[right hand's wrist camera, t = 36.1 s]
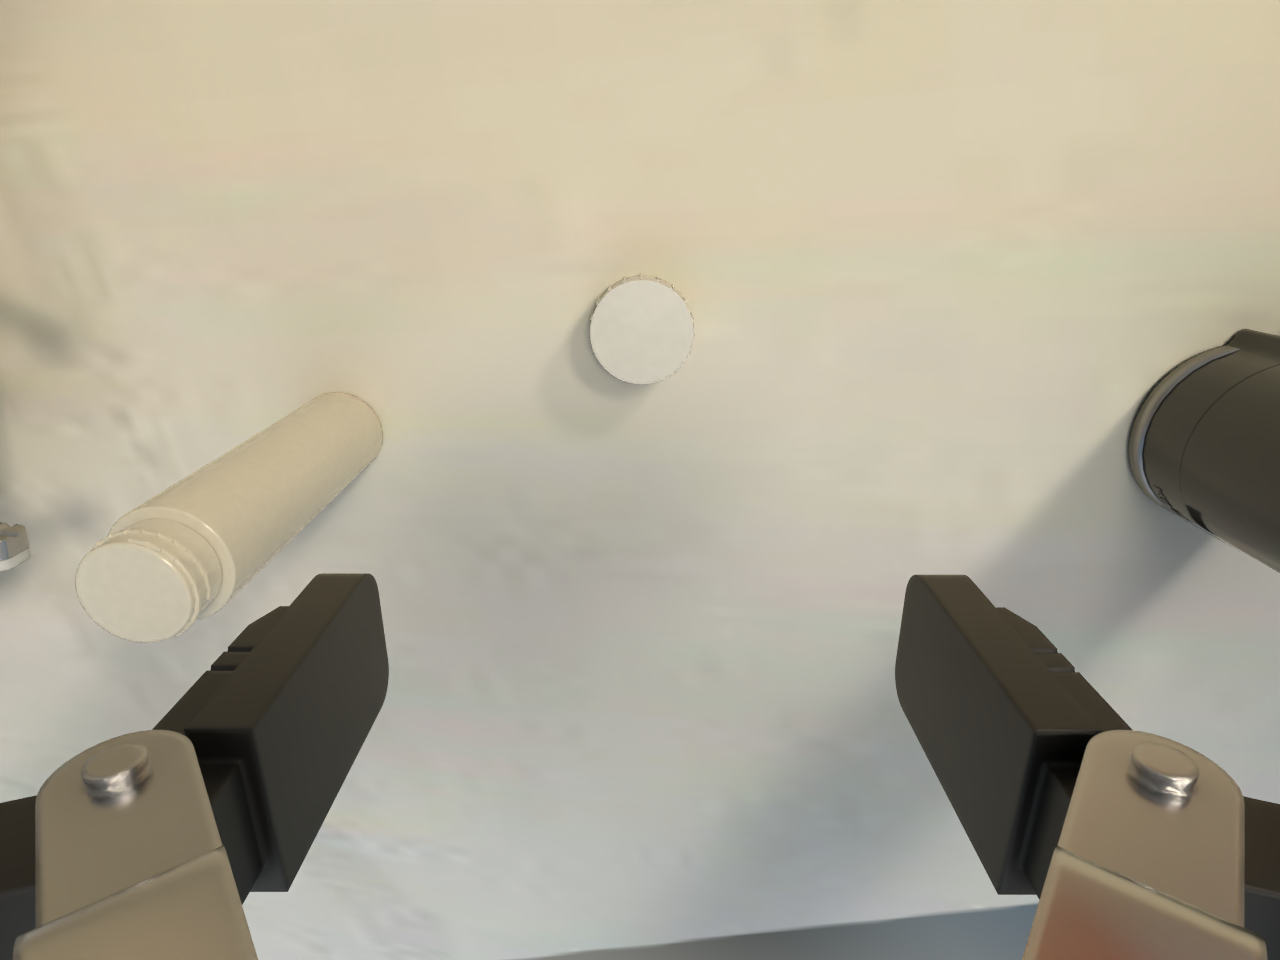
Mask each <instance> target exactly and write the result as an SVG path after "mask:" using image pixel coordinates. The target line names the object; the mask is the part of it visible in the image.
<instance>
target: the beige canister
mask: <svg viewBox="0 0 1280 960" xmlns="http://www.w3.org/2000/svg"><path fill="white" fill-rule="evenodd" d="M382 441H383V432H382V427H381V424H380V421H379V419H378V417H377V415H376V414H375V412H374V411H373V410H372V409H371V408H370V407H369V406H368V405H367V404H366V403H365V402H363V401H362V400H360V399H359V398H357V397H355V396H352V395H349V394H346V393H339V392H334V393H327V394H323V395H321V396H319V397H317V398H315V399H313V400H312V401H310V402H308V403H307V404H305V405H304V406H302V407H300V408H299V409H297V410H295V411H294V412H292V413H290V414H289V415H287V416H286V417H284V418H282V419H281V420H279V421H277V422H276V423H274V424H272V425H271V426H269V427H267V428H266V429H264V430H263V431H261V432H259V433H258V434H256V435H254V436H253V437H251V438H249V439H248V440H246V441H245V442H243V443H241V444H240V445H238V446H236V447H235V448H233V449H231V450H230V451H228V452H227V453H225V454H223V455H222V456H220V457H218V458H217V459H215V460H213V461H212V462H210V463H209V464H207V465H205V466H204V467H202V468H200V469H199V470H197V471H195V472H194V473H192V474H191V475H189V476H187V477H186V478H184V479H182V480H181V481H179V482H177V483H176V484H174V485H173V486H171V487H169V488H168V489H166V490H164V491H163V492H161V493H159V494H158V495H156V496H155V497H153V498H151V499H150V500H148V501H146V502H145V503H143V504H141V505H140V506H138V507H137V508H135V509H133V510H132V511H130V512H128V513H127V514H125V515H124V516H122V517H121V518H120V519H119V520H118V521H117V522H116V523H115V524H114V525H113V527H112V528H111V530H110V532H109V534H108V536H107V537H105V538H104V539H102V540H101V541H99V542H98V543H96V545H95V546H94V547H93V549H92V550H91V551H90V552H89V553H88V554H87V555H86V556H85V557H84V558H83V559H82V561H81V562H80V564H79V567H78V569H77V572H76V577H75V587H76V592H77V596H78V598H79V601H80V603H81V605H82V607H83V608H84V610H85V611H86V613H87V614H88V615H89V616H90V617H91V619H92V620H93V621H94V622H96V623H97V624H98V625H99V626H100V627H102V628H103V629H104V630H106V631H108V632H109V633H111V634H113V635H115V636H117V637H120V638H122V639H125V640H129V641H133V642H141V643H151V642H158V641H162V640H165V639H168V638H171V637H174V636H175V637H176V636H178V635H179V634H181V633H183V632H184V631H186V630H187V629H188V628H189V627H190V626H191V625H192V624H193V623H194V622H195V621H196V620H197V619H202V618H205V617H208V616H210V615H212V614H214V613H216V612H217V611H218V610H220V609H221V608H222V607H223V606H224V605H225V604H226V603H227V602H228V601H229V600H230V599H231V598H232V597H233V596H234V595H235V594H237V593H238V592H239V591H240V590H241V589H242V588H243V587H244V586H245V585H246V584H247V583H248V582H249V581H250V580H251V579H252V578H253V577H254V576H255V575H256V574H257V573H258V572H259V571H260V570H261V569H262V568H263V567H264V566H265V565H266V564H267V563H268V562H269V561H270V560H271V559H272V558H273V557H274V556H275V555H277V554H278V553H279V552H280V551H281V550H282V549H283V548H284V547H285V546H286V545H287V544H288V543H289V542H290V541H291V540H292V539H293V538H294V537H295V536H296V535H297V534H298V533H299V532H300V531H301V530H302V529H303V528H304V527H305V526H306V525H307V524H308V523H309V522H310V521H311V520H312V519H313V518H314V517H315V516H316V515H318V514H319V513H320V512H321V511H322V510H323V509H324V508H325V507H326V506H327V505H328V504H329V503H330V502H331V501H332V500H333V499H334V498H335V497H336V496H337V495H338V494H339V493H340V492H341V491H342V490H343V489H344V488H345V487H346V486H347V485H348V484H349V483H350V482H351V481H352V480H353V479H354V478H355V477H356V476H357V475H359V474H360V473H361V472H362V471H363V470H364V469H365V468H366V467H367V466H368V465H369V464H370V463H371V462H372V461H373V460H374V459H375V458H376V456H377V455H378V453H379V451H380V449H381V446H382Z"/></svg>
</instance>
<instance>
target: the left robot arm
mask: <svg viewBox="0 0 1280 960" xmlns="http://www.w3.org/2000/svg"><path fill="white" fill-rule="evenodd" d="M30 556H31V553H30V548H29V542H28V538H27V533H26V529H25V526H23V525H17V524H16V525H14V526H12V527H11V526H10V525H8V524H6V523H0V571H4V570H9V569H12V568H14V567H15V566H17V565H19V564H20V563H22V562H24V561H25V560H27V559H29V558H30Z"/></svg>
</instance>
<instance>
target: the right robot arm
mask: <svg viewBox="0 0 1280 960" xmlns="http://www.w3.org/2000/svg"><path fill="white" fill-rule="evenodd" d="M1129 459H1130V465H1131V469H1132V472H1133V475H1134V478H1135V480H1136V482H1137V483H1138V485H1139V487H1140V488H1141V489H1142V491H1143V492H1144V493H1145V494H1146V495H1147V496H1148V497H1149V498H1150V499H1151V500H1153V501H1154V502H1156V503H1157V504H1159V505H1161V506H1162V507H1164V508H1166V509H1167V510H1169V511H1171V512H1173V513H1175V515H1176V514H1177V515H1179V516H1181V517H1183V518H1185V519H1187V520H1188V521H1191V522H1192V523H1193V522H1194V523H1195V524H1197V525H1199V526H1200V527H1202V528H1204V529H1206V530H1207V531H1209V532H1210V533H1212V534H1214V535H1216V536H1217V537H1219V538H1221V539H1222V540H1224V541H1226V542H1228V543H1229V544H1231V545H1233V546H1234V547H1236V548H1238V549H1240V550H1241V551H1243V552H1245V553H1246V554H1248V555H1250V556H1252V557H1253V558H1255V559H1257V560H1259V561H1260V562H1262V563H1264V564H1265V565H1267V566H1269V567H1271V568H1272V569H1274V570H1276V571H1277V572H1279V573H1280V336H1277V335H1272V334H1267V333H1263V332H1258V331H1253V330H1248V329H1243V330H1241V331H1240V332H1239V333H1238V334H1237V335H1236V336H1235V337H1234V339H1233V340H1232V341H1230V342H1229V343H1228V344H1227V345H1226V346H1221V347H1218V348H1214V349H1211V350H1209V351H1206V352H1203V353H1201V354H1199V355H1197V356H1195V357H1193V358H1191V359H1189V360H1188V361H1186V362H1184V363H1183V364H1181V365H1180V366H1178V367H1177V368H1176V369H1174V370H1173V371H1172V372H1171V373H1169V374H1168V375H1167V376H1166V377H1165V378H1164V379H1163V380H1162V381H1161V382H1160V383H1159V384H1158V385H1157V386H1156V387H1155V388H1154V390H1153V391H1152V392H1151V393H1150V395H1149V396H1148V398H1147V399H1146V400H1145V402H1144V404H1143V405H1142V407H1141V409H1140V411H1139V413H1138V415H1137V417H1136V419H1135V422H1134V425H1133V428H1132V432H1131V436H1130V443H1129ZM1183 518H1182V519H1183ZM1188 521H1187V522H1188ZM1189 523H1190V522H1189ZM1194 526H1195V525H1194ZM1196 527H1197V526H1196ZM1198 528H1199V527H1198ZM1203 531H1204V530H1203ZM1205 532H1206V531H1205ZM1210 535H1211V534H1210ZM1212 536H1213V535H1212ZM1217 539H1218V538H1217ZM1219 540H1220V539H1219ZM1224 543H1225V542H1224ZM1226 544H1227V543H1226ZM1234 547H1233V548H1234ZM388 677H389V666H388V657H387V650H386V642H385V635H384V628H383V621H382V614H381V607H380V599H379V592H378V587H377V583H376V581H375V578H374V577H373V576H372V575H371V574H318V575H316V576H315V577H314V578H313V580H312V581H311V582H310V583H309V584H308V585H307V586H306V588H305V589H304V590H303V591H302V592H301V593H300V595H299V596H298V597H297V598H296V599H295V600H294V602H293V603H292V604H291V605H290V606H280V607H278V608H276V609H275V610H273V611H271V612H270V613H268V614H266V615H265V616H263V617H261V618H260V619H258V620H256V621H255V622H253V623H251V624H250V625H248V626H247V627H246V628H245V630H244V631H243V632H242V633H241V634H240V635H239V636H238V637H237V638H236V639H235V640H234V641H233V643H232V644H231V645H230V646H229V647H228V652H223V653H222V655H221V656H220V657H219V658H218V659H217V660H216V661H215V662H214V663H213V664H212V665H211V670H210V671H206V672H205V673H204V674H203V675H202V676H201V677H200V678H199V680H198V681H197V682H196V683H195V684H194V685H193V686H192V687H191V688H190V689H189V690H188V691H187V693H186V694H185V695H184V696H183V697H182V698H181V699H180V700H179V701H178V702H177V703H176V704H175V706H174V707H173V708H172V709H171V710H170V711H169V712H168V713H167V714H166V715H165V716H164V718H163V719H162V720H161V721H160V722H159V723H158V724H157V725H156V726H155V727H154V728H153V729H152V730H147V731H139V732H134V733H130V734H125V735H122V736H119V737H115V738H112V739H110V740H107V741H104V742H102V743H99V744H97V745H95V746H93V747H91V748H89V749H87V750H85V751H83V752H81V753H80V754H78V755H76V756H75V757H73V758H72V759H70V760H69V761H67V762H66V763H64V764H63V765H62V766H61V767H59V768H58V769H57V770H56V771H55V772H54V773H53V774H52V775H51V776H50V777H49V778H48V779H47V780H46V781H45V783H44V784H43V785H42V787H41V788H40V790H39V792H38V795H37V796H32V797H27V798H23V799H18V800H13V801H8V802H4V803H0V960H258V958H257V954H256V951H255V948H254V944H253V941H252V938H251V934H250V931H249V927H248V924H247V921H246V917H245V914H244V910H243V907H242V904H243V903H244V901H245V899H246V897H247V895H248V894H249V892H288V890H289V888H290V886H291V884H292V882H293V880H294V878H295V876H296V874H297V872H298V870H299V868H300V867H301V865H302V863H303V861H304V859H305V857H306V855H307V853H308V851H309V849H310V847H311V845H312V843H313V841H314V839H315V837H316V835H317V833H318V831H319V829H320V827H321V825H322V823H323V821H324V819H325V817H326V815H327V814H328V812H329V810H330V808H331V806H332V804H333V802H334V800H335V798H336V796H337V794H338V792H339V790H340V788H341V786H342V784H343V782H344V780H345V778H346V776H347V774H348V772H349V770H350V768H351V766H352V764H353V762H354V761H355V759H356V757H357V755H358V753H359V751H360V749H361V747H362V745H363V743H364V741H365V739H366V737H367V735H368V733H369V731H370V729H371V727H372V725H373V723H374V721H375V719H376V717H377V715H378V713H379V711H380V709H381V707H382V705H383V703H384V700H385V696H386V692H387V686H388ZM895 680H896V689H897V694H898V698H899V702H900V704H901V707H902V709H903V711H904V713H905V715H906V717H907V719H908V721H909V723H910V725H911V727H912V728H913V730H914V732H915V734H916V736H917V738H918V740H919V742H920V744H921V746H922V748H923V750H924V752H925V754H926V756H927V758H928V760H929V761H930V763H931V765H932V767H933V769H934V771H935V773H936V775H937V777H938V779H939V781H940V783H941V785H942V787H943V789H944V791H945V792H946V794H947V796H948V798H949V800H950V802H951V804H952V806H953V808H954V810H955V812H956V814H957V816H958V818H959V820H960V822H961V824H962V825H963V827H964V829H965V831H966V833H967V835H968V837H969V839H970V841H971V843H972V845H973V847H974V849H975V851H976V853H977V855H978V856H979V858H980V860H981V862H982V864H983V866H984V868H985V870H986V872H987V874H988V876H989V878H990V880H991V882H992V884H993V886H994V888H995V889H996V891H997V893H998V895H1037V896H1038V898H1039V904H1038V907H1037V911H1036V914H1035V917H1034V921H1033V924H1032V927H1031V931H1030V934H1029V938H1028V941H1027V944H1026V948H1025V951H1024V955H1023V958H1022V960H1280V804H1276V803H1271V802H1266V801H1262V800H1257V799H1252V798H1248V797H1244V796H1243V795H1242V792H1241V790H1240V788H1239V787H1238V785H1237V784H1236V783H1235V781H1234V780H1233V779H1232V778H1231V777H1230V776H1229V775H1228V774H1227V773H1226V772H1225V771H1224V770H1223V769H1222V768H1221V767H1219V766H1218V765H1217V764H1216V763H1214V762H1213V761H1211V760H1210V759H1208V758H1207V757H1205V756H1204V755H1202V754H1200V753H1199V752H1197V751H1195V750H1193V749H1191V748H1189V747H1187V746H1185V745H1183V744H1181V743H1178V742H1176V741H1173V740H1170V739H1168V738H1165V737H1161V736H1158V735H1155V734H1150V733H1146V732H1141V731H1133V730H1132V729H1131V728H1130V727H1129V726H1128V725H1127V724H1126V723H1125V721H1124V720H1123V719H1122V718H1121V717H1120V716H1119V715H1118V714H1117V713H1116V712H1115V711H1114V710H1113V709H1112V707H1111V706H1110V705H1109V704H1108V703H1107V702H1106V701H1105V700H1104V699H1103V698H1102V697H1101V696H1100V695H1099V693H1098V692H1097V691H1096V690H1095V689H1094V688H1093V687H1092V686H1091V685H1090V684H1089V683H1088V682H1087V681H1086V680H1085V678H1084V677H1083V676H1082V675H1081V674H1080V673H1075V670H1074V667H1073V666H1072V664H1071V663H1070V662H1069V661H1068V660H1067V659H1066V658H1065V657H1064V656H1063V655H1062V654H1061V653H1057V648H1056V647H1055V646H1054V645H1053V644H1052V643H1051V642H1050V641H1049V640H1048V639H1047V638H1046V636H1045V635H1044V634H1043V633H1042V632H1041V631H1040V630H1039V629H1038V628H1037V627H1036V626H1034V625H1033V624H1031V623H1029V622H1028V621H1026V620H1024V619H1023V618H1021V617H1019V616H1018V615H1016V614H1014V613H1013V612H1011V611H1009V610H1008V609H1006V608H995V607H994V605H993V604H992V603H991V602H990V601H989V600H988V599H987V597H986V596H985V595H984V594H983V593H982V592H981V590H980V589H979V588H978V587H977V586H976V585H975V584H974V582H973V581H972V580H971V579H970V578H969V577H968V576H966V575H913V576H912V577H911V578H910V580H909V582H908V584H907V588H906V593H905V601H904V608H903V615H902V622H901V629H900V636H899V643H898V650H897V657H896V665H895Z"/></svg>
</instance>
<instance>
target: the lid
mask: <svg viewBox="0 0 1280 960" xmlns="http://www.w3.org/2000/svg"><path fill="white" fill-rule="evenodd" d="M686 303H687V302H686V299H685V298H684V297H683V298H682V296H681V295H680V293H679V292H678V291H677V290H676V289H675V287H674V285H670V284H668V283H667V282H665V281H663V280H661V279H659V277H657V278H655V277H650V276H642V274H640V276H633V277H629V278H625V277H624V278H623V280H621V281H619V282H617V283H615V284H614V285H612V286H609V287H608V290H607V291H606V292H605V293H604V294H603V295H602V297H601V298H598V300H597V302H596V304H597V306H596V308H595V311H594V313H593V314H592V315H591V318H590V321H591V324H590V335H589V338H590V340H591V345H592V349H593V351H594V355H595V356H596V358H597V359H598V361H599V363H600V364H601V365H602V366H603V368H604V369H606V370H607V371H608V372H609V373H610V374H611V375H613V376H614V377H616V378H618V379H620V380H622V381H625V382H628V383H632V384H651V383H655V382H659V381H661V380H664V379H666V378H667V377H669V376H671V375H672V374H673V373H675V372H676V371H677V370H678V369H679V368H680V367H681V366H682V364H683V363H684V362H685V360H686V359H687V357H688V355H689V353H690V350H691V347H692V343H693V338H694V336H695V334H694V328H693V321H692V319H693V316H692V314H691V313H690V312H689V309H688V307H687V305H686Z"/></svg>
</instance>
